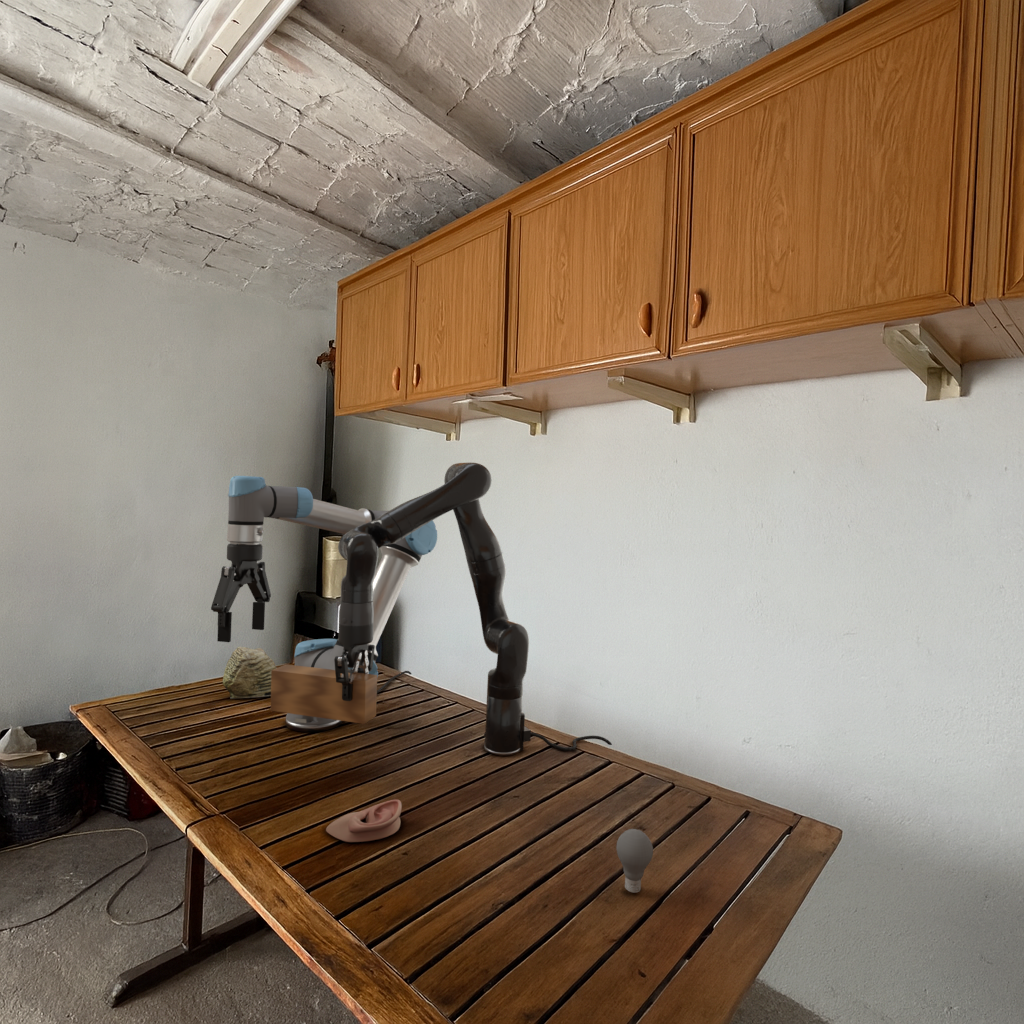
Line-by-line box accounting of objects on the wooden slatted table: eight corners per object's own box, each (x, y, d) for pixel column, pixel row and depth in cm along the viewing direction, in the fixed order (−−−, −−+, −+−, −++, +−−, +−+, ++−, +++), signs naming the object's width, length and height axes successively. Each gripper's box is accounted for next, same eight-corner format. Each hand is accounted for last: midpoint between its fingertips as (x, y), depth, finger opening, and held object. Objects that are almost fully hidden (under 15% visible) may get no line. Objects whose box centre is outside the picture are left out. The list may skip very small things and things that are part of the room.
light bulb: (610, 879, 108) (613, 822, 108) (644, 879, 109) (647, 822, 109) (619, 902, 102) (622, 840, 102) (655, 901, 103) (658, 840, 103)
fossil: (218, 695, 195) (220, 647, 195) (278, 685, 208) (279, 640, 207) (228, 703, 189) (230, 653, 188) (289, 692, 201) (290, 645, 201)
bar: (270, 710, 144) (271, 670, 144) (285, 703, 149) (286, 664, 149) (364, 724, 138) (365, 681, 138) (376, 715, 143) (377, 674, 143)
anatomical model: (318, 816, 117) (346, 789, 129) (317, 837, 118) (346, 808, 129) (385, 827, 115) (408, 798, 126) (384, 848, 115) (407, 818, 126)
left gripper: (227, 547, 132) (224, 648, 133) (287, 540, 157) (284, 626, 157) (195, 545, 134) (191, 645, 134) (259, 539, 158) (256, 623, 159)
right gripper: (355, 628, 133) (353, 708, 134) (386, 616, 147) (384, 689, 147) (323, 625, 135) (321, 704, 136) (357, 614, 149) (355, 685, 149)
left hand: (241, 635), depth 146 cm, fingers open, 13 cm apart
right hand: (354, 695), depth 141 cm, fingers closed on bar, 5 cm apart
